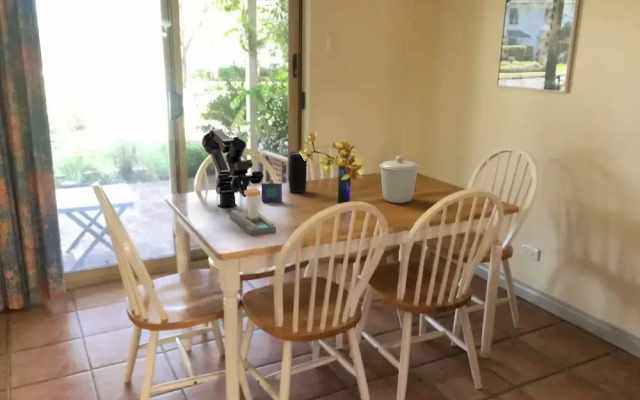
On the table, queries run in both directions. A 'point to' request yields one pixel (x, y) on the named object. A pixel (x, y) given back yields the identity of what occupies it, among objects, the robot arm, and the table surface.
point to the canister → (398, 180)
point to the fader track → (252, 223)
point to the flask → (271, 192)
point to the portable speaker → (297, 173)
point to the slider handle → (252, 204)
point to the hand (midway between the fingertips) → (245, 196)
